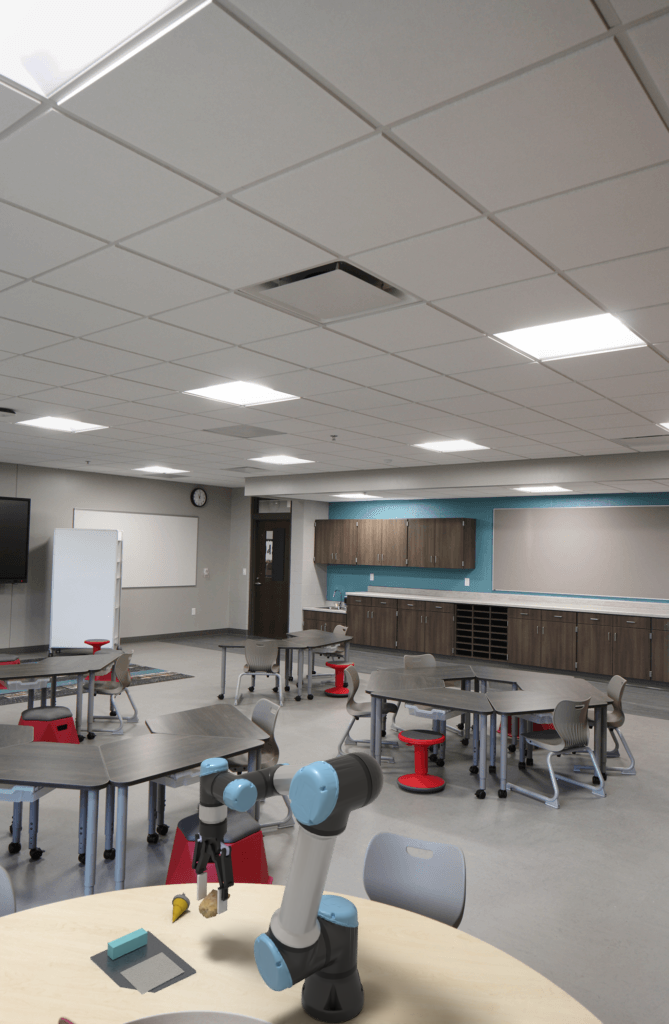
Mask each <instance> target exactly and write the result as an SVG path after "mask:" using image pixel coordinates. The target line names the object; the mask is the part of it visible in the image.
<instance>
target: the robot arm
mask: <svg viewBox="0 0 669 1024" xmlns="http://www.w3.org/2000/svg"><path fill="white" fill-rule="evenodd" d="M199 768H200V769H199V771H200V774H199V804H198V805H199V806H198V818H199V821H198V832H197V833H195V834H194V847H193V848H194V850H193V856H192V860H191V861H192V863H191V869H192V870H194V871H195V874H196V900H197V901H202V900H203V899H204V898H205V897H206V896H207V895H208V872H207V871H208V868H207V866H208V864H209V859H210V858H211V861H212V862H213V863H214V866H215V871H216V875H217V881H218V885H219V886H218V887H217V891H218V894H217V913H218V914H217V915H220V914H223V913H224V912H227V911H228V900H229V899H228V894H229V888H230V887H233V886H234V885H235V879H234V869H233V861H232V848H233V847H232V846H231V845H226V844H225V839H224V838H225V835H226V834H227V832H228V818H227V817H228V809H231V810H234V811H237V812H240V813H245V812H247V811H249V810H250V809H251V808H252V807H254V805H255V803H256V802H259V801H262V800H264V799H270V798H272V797H277V796H280V797H281V796H288V799H289V800H290V803H289V807H290V810H291V813H292V814H293V817H294V818H295V822H296V823H297V825H298V830H297V835H296V838H295V843H294V846H293V852H292V856H291V860H290V866H289V869H288V872H287V873H288V874H287V877H286V882H285V887H284V891H283V895H282V899H281V902H280V903H281V904H280V907H278V908H277V909H276V910H274V911H273V913H272V915H271V917H270V922H269V925H268V930H267V931H266V932H265V933H264V932H263V933H262V932H261V934H260V935H259V936H257V937H256V938H255V940H254V944H253V956H254V960H255V965H256V967H257V970H258V973H259V975H260V977H261V979H262V981H264V984H265V985H266V986H267V987H268V988H269V989H270V990H272V991H274V992H282V991H284V990H286V989H292V987H293V986H295V985H297V984H298V983H300V982H302V981H303V984H302V988H301V994H300V996H301V1000H300V1002H301V1005H302V1009H303V1010H304V1012H305V1013H306V1014H307V1015H309V1017H311V1018H312V1019H315V1020H317V1021H319V1022H323V1023H330V1024H338V1023H343V1022H347V1021H349V1020H353V1018H355V1017H356V1016H357V1015H359V1014H360V1012H361V1011H362V1009H363V1008H364V1003H365V1001H364V1000H365V999H364V998H365V992H364V991H365V990H364V987H363V984H362V981H361V976H360V972H359V970H358V949H359V948H358V945H359V944H358V940H359V917H358V913H359V912H358V908H357V907H356V905H355V904H354V903H353V902H352V901H351V900H350V899H348V898H346V897H344V896H339V895H335V894H324V890H325V886H326V881H327V878H328V873H329V869H330V866H331V862H332V858H333V853H334V850H335V849H334V848H335V844H336V841H337V837H338V836H339V837H340V836H341V835H342V834H343V833H344V832H345V831H346V829H347V825H348V822H349V817H350V814H351V813H352V812H353V811H355V810H360V809H361V808H364V807H367V806H368V805H370V804H372V803H373V802H374V801H376V799H377V798H379V796H380V794H381V791H382V789H383V788H384V787H383V786H384V780H385V779H384V778H385V777H384V772H383V768H382V767H381V764H380V763H379V762H378V760H377V759H376V758H375V757H374V756H373V755H370V754H369V753H366V752H363V751H355V752H354V751H353V752H350V753H346V754H343V755H339V756H336V757H332V758H328V759H325V760H318V761H314V762H305V763H303V762H302V763H295V764H290V763H288V762H284V763H277V764H274V765H271V766H268V767H265V768H261V769H257V770H253V771H249V772H245V773H241V774H235V773H233V772H232V773H231V772H230V771H229V770H230V769H229V762H228V760H227V759H226V758H224V757H210V758H207V759H204V760H203V761H202V762H201V763H200V767H199Z"/></svg>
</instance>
